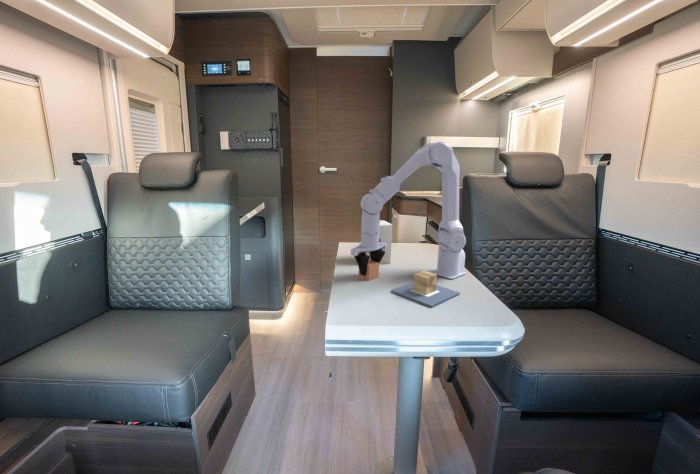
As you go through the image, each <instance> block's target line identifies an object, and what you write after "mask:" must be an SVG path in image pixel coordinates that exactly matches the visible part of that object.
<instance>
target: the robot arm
mask: <svg viewBox="0 0 700 474" xmlns="http://www.w3.org/2000/svg"><path fill="white" fill-rule="evenodd" d="M428 165H431V166H434V167H435V169H437V170H439V172H441V221H440V222H439V224H438V230H437V233H436V236H435V237H436V240H437V242H438V243H439V245H438V253H437V263H436V270H433V271H431V272H430V273H433V274H436V275H437V276H439V277H443V278H445V279H449V280H454V279H457V278H458V277H461V276H464V275H466V274H467V272H466V271H465V262H466V252H465V251H464V247H465V245H466V243H467V238H466V236H465V233H464V227H463V225H462V223H461V222H460V176H461V175H460V172H461V171H460V167H461V166H460V163H459V161H458V159H457V157H456V155H455V153H454V148H453V147H452V146H451V145H449V144H448V143H446V142H444V141H438V142H428V143H425V144H424V145H422V147H421V148H418V150H417V151H415V153H414V154H413V155H411V156H410V158H408V159H407V161H406V162H405V163H404V164H403V165H402V166H401V167H399V169H398V170H397V171H396V172H395V173H394V174H393V175H386V176H385V177H381V179H380V180H379V181H380V182H379V183H378V184H377V185H376V186H374V188H373V189H370V190H369V193H367V194H364V196H362V198H361V201H360V202H359V205H360V206H359V207H360V208H361V212H362V213H361V221H360V222H361V224H360V225H361V227H360V229H361V230H360V232H361V233H360V243H359V245H357V246H355V247H352V248H351V249H350V255H351V256H353V257H354V259H355V260H356V263H357V266H358V272H359V271H360V274H361V275H364V276H365V275H366V273H367V265H368V261H369V258H371V260H372V261H375V262H378V263H379V265H381V264H380V261H381V259H382V257H383V256H384V254H385V251H383V250H382V249H387V243H385V242H379V226H380V220H381V219H380V215H381V214H380V213H381V211H382V210H383V207H384V205H385V204H386V203H387V202H388V201H389V200H390V199H391V198H392V197H393V196H395V195H396V194H397V193H398V192H399V191H400V189H401V184H402V183H403V182H404V181H405V180H406V179H407V178H408V177H410V176H411V175H412V174H413V173H415V172H416V171H417V170H418V169H419V168H421V167H424V166H425V167H426V166H428ZM367 252H369V253H370V256H367V255H366V253H367Z"/></svg>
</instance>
